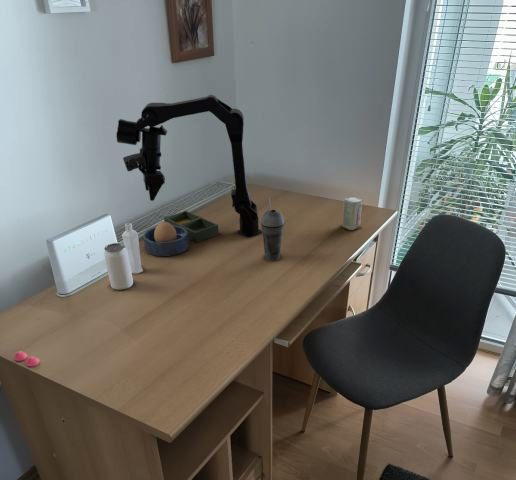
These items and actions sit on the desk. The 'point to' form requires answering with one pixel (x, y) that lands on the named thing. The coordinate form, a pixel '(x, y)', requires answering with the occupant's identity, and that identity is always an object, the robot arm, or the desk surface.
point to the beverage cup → (272, 233)
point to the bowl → (166, 243)
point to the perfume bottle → (132, 248)
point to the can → (118, 266)
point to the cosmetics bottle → (352, 213)
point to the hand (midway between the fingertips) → (149, 195)
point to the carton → (193, 225)
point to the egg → (165, 232)
